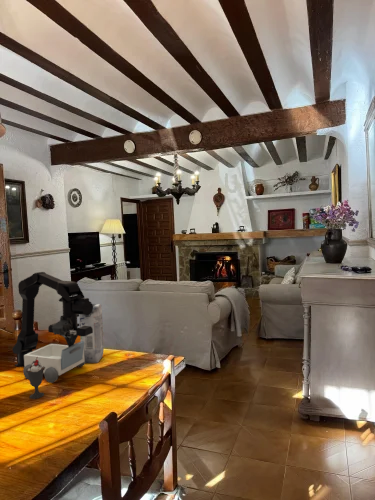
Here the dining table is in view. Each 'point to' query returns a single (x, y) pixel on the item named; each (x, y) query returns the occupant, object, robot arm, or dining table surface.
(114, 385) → the dining table surface
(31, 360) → the cart
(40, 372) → the sundae
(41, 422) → the dining table surface
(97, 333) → the juice carton
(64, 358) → the panel
